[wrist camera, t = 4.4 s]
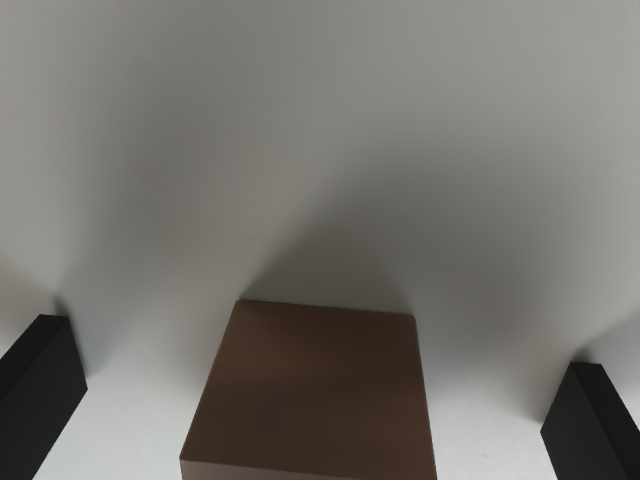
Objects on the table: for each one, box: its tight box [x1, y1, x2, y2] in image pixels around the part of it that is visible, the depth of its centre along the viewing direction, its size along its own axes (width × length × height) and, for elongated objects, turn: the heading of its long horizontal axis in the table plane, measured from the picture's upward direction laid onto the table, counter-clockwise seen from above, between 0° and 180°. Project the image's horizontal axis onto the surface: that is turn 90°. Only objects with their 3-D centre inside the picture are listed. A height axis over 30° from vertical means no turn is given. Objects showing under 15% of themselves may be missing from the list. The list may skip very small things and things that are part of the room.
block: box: [179, 300, 437, 480], centre depth 11 cm, size 4×4×4 cm
